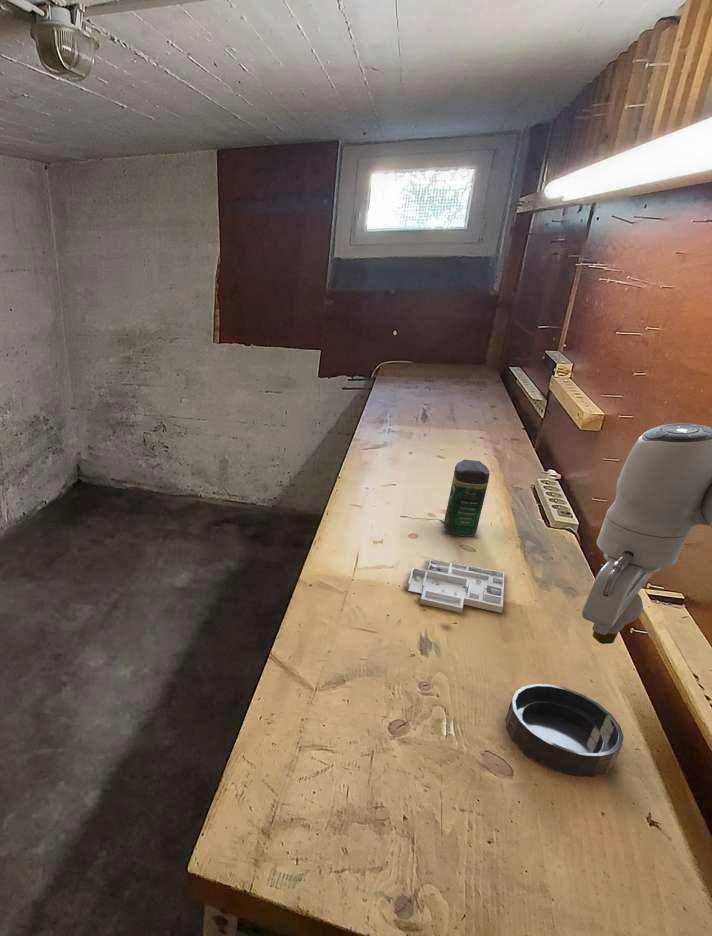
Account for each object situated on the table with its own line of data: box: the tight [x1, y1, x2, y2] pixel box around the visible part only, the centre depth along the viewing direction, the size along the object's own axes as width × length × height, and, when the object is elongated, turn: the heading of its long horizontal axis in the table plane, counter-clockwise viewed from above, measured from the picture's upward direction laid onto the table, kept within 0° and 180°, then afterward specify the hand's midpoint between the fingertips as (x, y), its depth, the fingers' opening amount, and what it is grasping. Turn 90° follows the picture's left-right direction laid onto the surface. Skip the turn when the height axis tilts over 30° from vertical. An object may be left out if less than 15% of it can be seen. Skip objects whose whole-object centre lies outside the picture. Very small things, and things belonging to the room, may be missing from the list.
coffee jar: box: [443, 459, 491, 537], centre depth 145 cm, size 10×8×19 cm
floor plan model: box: [406, 558, 505, 614], centre depth 122 cm, size 19×25×2 cm
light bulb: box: [592, 592, 644, 645], centre depth 82 cm, size 6×6×10 cm
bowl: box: [504, 683, 625, 778], centre depth 86 cm, size 14×14×5 cm
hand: (607, 622), depth 83 cm, fingers closed on light bulb, 5 cm apart
